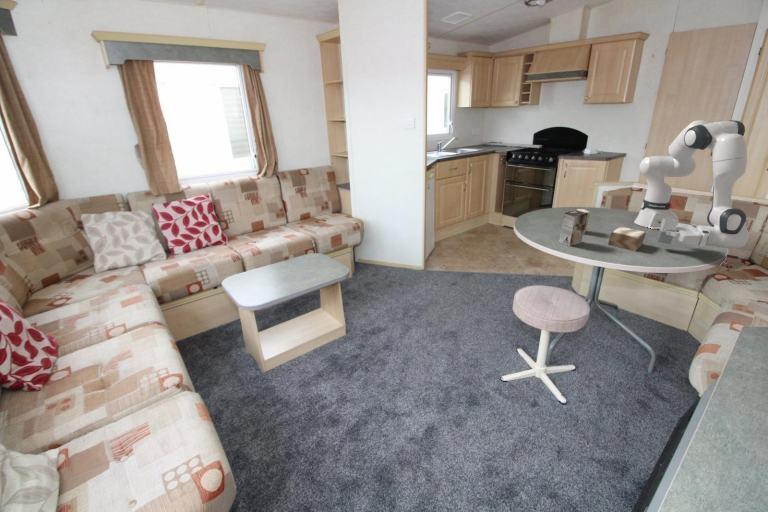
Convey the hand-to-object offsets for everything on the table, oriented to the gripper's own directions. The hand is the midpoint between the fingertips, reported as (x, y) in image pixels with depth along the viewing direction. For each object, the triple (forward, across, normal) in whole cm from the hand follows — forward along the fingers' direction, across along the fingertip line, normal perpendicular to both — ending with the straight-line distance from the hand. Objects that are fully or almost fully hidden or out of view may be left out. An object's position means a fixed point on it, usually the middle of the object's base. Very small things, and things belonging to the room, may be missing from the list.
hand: (664, 230), depth 173 cm
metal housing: (-1, 0, +6) cm, 6 cm away
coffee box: (+39, +11, +10) cm, 42 cm away
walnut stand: (+14, +1, +10) cm, 17 cm away
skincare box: (+36, -10, +10) cm, 38 cm away
